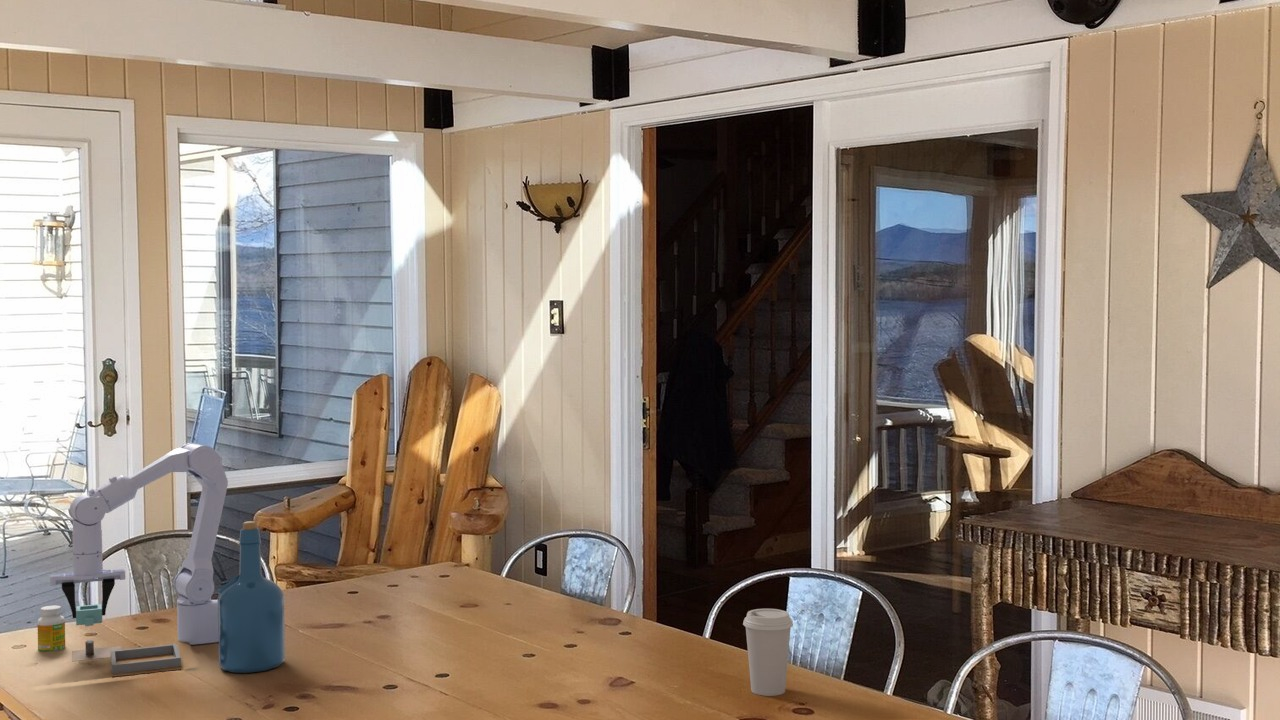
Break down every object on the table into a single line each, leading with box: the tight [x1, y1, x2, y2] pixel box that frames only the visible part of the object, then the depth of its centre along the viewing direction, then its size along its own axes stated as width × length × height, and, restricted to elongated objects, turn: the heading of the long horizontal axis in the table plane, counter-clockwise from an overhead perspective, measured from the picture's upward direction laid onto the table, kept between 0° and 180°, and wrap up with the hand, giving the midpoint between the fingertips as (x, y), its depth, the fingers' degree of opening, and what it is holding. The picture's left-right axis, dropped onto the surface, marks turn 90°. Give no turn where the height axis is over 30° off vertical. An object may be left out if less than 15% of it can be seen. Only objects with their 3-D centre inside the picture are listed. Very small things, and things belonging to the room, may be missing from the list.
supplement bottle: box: [36, 605, 66, 653], centre depth 269 cm, size 5×5×10 cm
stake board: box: [71, 639, 124, 663], centre depth 265 cm, size 10×9×4 cm
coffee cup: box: [742, 608, 794, 697], centre depth 238 cm, size 10×10×15 cm
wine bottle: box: [217, 520, 286, 674], centre depth 257 cm, size 14×13×30 cm
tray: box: [110, 643, 182, 678], centre depth 258 cm, size 13×12×2 cm
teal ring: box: [75, 603, 103, 627], centre depth 263 cm, size 5×7×3 cm
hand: (89, 615), depth 264 cm, fingers closed on teal ring, 5 cm apart
